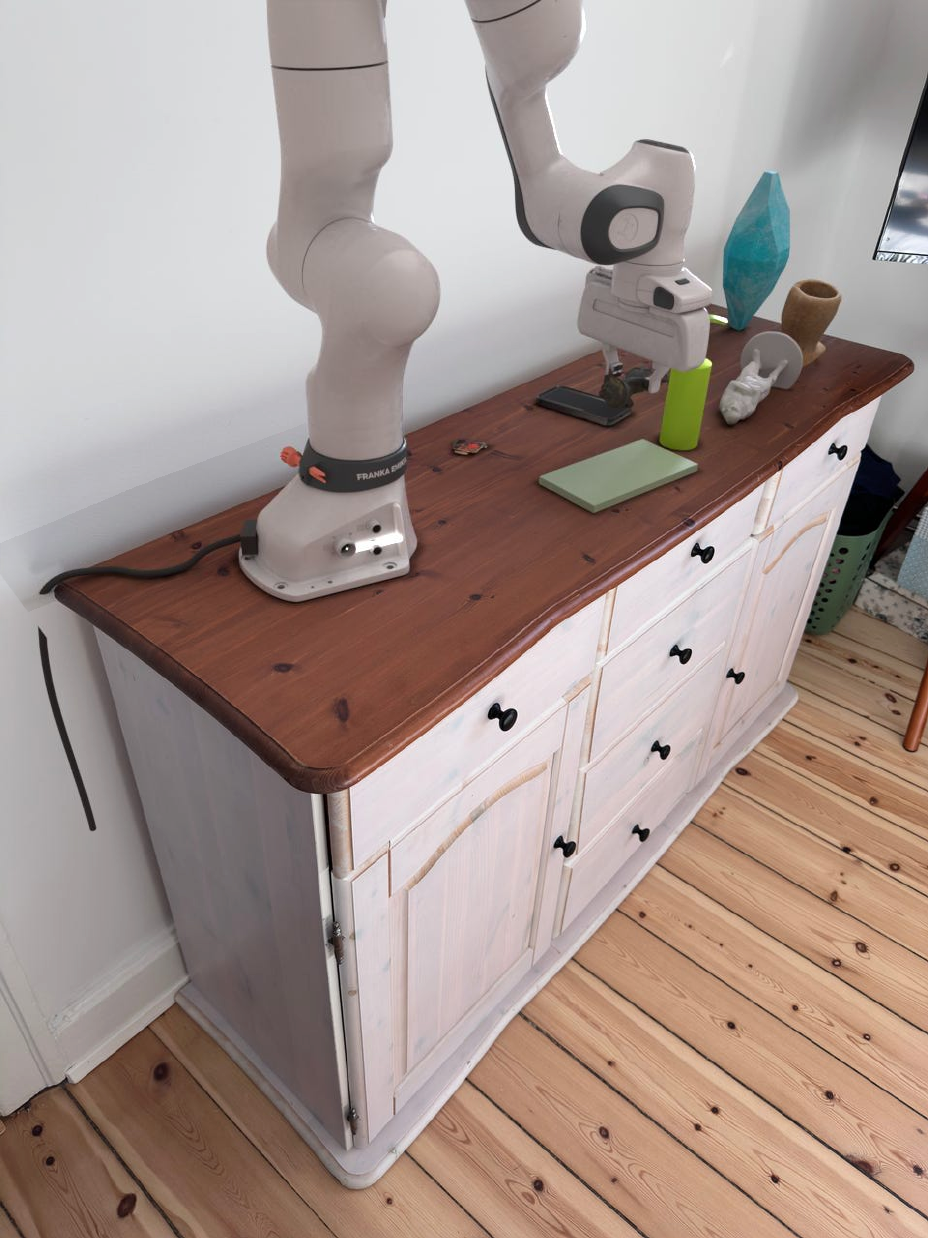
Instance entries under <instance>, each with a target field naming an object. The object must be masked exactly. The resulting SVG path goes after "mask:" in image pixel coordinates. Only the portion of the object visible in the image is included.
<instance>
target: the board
mask: <svg viewBox="0 0 928 1238" xmlns="http://www.w3.org/2000/svg"><path fill="white" fill-rule="evenodd" d="M698 467H699V464H698V463H697V462H694V461H692V460H691V459H688V458H686V457H683V456H681V455H679V454H678V453H675V452H672V451H670V450H668V449H667V448H664V447H662V446H659V445H657V444H656V443H652V442H650V441H649V440H647V439H644V438H641V439H639V440H636V441H633V442H630V443H627V444H625V445H621V446H619V447H616V448H614V449H611V450H608V451H605V452H602V453H600V454H597V455H594V456H591V457H588V458H585V459H584V460H580V461H578V462H575V463H573V464H569V465H567V466H564V467H561V468H559V469H556V470H553V471H550V472H547V473H544V474H542V475H539V476H538V478H539V479H538V484H539V485H540V486H543V487H544V488H546V489H548V490H550V491H552V492H554V493H555V494H557V495H559V496H561V497H563V498H564V499H566V500H568V501H570V502H572V503H574V504H576V505H578V507H581V508H583V509H585V510H586V511H589V512H590V513H592V514H595V513H598V512H600V511H603V510H605V509H607V508H611V507H612V506H615V505H617V504H620V503H622V502H625V501H627V500H630V499H632V498H635V497H637V496H639V495H642V494H645V493H646V492H649V491H652V490H654V489H656V488H659V487H662V486H664V485H667V484H669V483H671V482H674V481H677V480H678V479H679V480H680V479H681V478H684V477H686V476H688V475H691V474H694V473H696V472H698Z"/></svg>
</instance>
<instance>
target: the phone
mask: <svg viewBox="0 0 928 1238" xmlns="http://www.w3.org/2000/svg"><path fill="white" fill-rule="evenodd" d="M535 399H536V400H535V403H536V405H537V406H541V407H544V408H548V409H550V410H554V411H558V412H561V413H563V414H566V415H570V416H573V417H577V418H579V419H582V420H587V421H590V422H593V423H595V424H599V425H603V426H607V427H609V426H610V427H611V426H613V425H616V424H617V423H619V422H621V421H622V420H624V419H625V418H628V417H629V416H630V415H631V414H632V409H633V407H631V408H625V407H622V406H621V407H616V408H614V407H610V406H609V405H607V403H606V402H605V400H603V399H602V398H600V397H599V395H596V394H593V393H589V392H587V391H583V390H580V389H576V388H573V387H569V386H566V385H555V386H553V387H551V388H549V389H547V390H545V391H543V392H541V393H539V394H537V395H536V398H535Z"/></svg>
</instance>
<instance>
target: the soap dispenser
mask: <svg viewBox="0 0 928 1238" xmlns="http://www.w3.org/2000/svg"><path fill="white" fill-rule="evenodd" d="M708 315H709V319H710V324H711V323H713V324H717V325H721V326H726V325H728V319H727V318H726V317H723V316H720V315H716V314H709V313H708ZM712 366H713V363H712V361H711V360H710V359H708V358H707V357H705V360H704V362H703V363H702V364H701V365H700V366H699V367H698V368H696V369H693V370H690V371H687V372H680V371H677V370H675V369H672V368H670V370H669V371H670V372H669V383H667V390H666V396H665V403H664V409H663V416H662V421H661V427H660V428H661V429H660V434H659V443H660V444H661V445H662V446H663V447H665V448H666V449H670V450H674V451H690V450H694V449H696V447H697V446H698V442H699V438H700V437H699V436H700V431H701V425H702V420H703V415H704V409H705V405H706V399H707V395H708V394H707V393H708V388H709V382H710V378H711V372H712Z"/></svg>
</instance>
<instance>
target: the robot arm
mask: <svg viewBox="0 0 928 1238" xmlns="http://www.w3.org/2000/svg"><path fill="white" fill-rule="evenodd" d="M463 1H464V4H465V7H466V9H467V12H468V15H469V17H470V20H471V23H472V25H473V29H474V31H475V34H476V37H477V39H478V42H479V45H480V48H481V52H482V55H483V59H484V63H485V65H484V68H485V71H484V72H485V78H486V84H487V89H488V94H489V96H490V100H491V101H490V102H491V105H492V109H493V111H494V114H495V118H496V119H495V120H496V122H497V125H498V128H499V132H500V135H501V139H502V142H503V144H504V148H505V152H506V155H507V158H508V161H509V165H510V168H511V172H512V178H513V185H514V205H515V206H514V209H515V216H516V221H517V224H518V227H519V230H520V231H521V233H522V234H523V236H524V237H525V238H526V240H527V241H529V242H530V243H532V244H533V245H535V246H538V247H541V248H544V249H545V248H546V249H550V250H553V251H558V252H561V253H563V254H566V255H568V256H570V257H574V258H576V259H579V260H582V261H585V262H587V263H591V264H594V265H596V266H594V267H593V268H591V269H590V270H589V271H588V272H587V273H586V275H585V282H584V288H583V291H582V294H581V299H580V303H579V307H578V312H577V320H576V326H577V330H578V332H579V334H580V335H582V336H586V337H588V338H591V339H593V340H596V341H599V342H601V351H602V354H603V358H604V360H605V361H604V362H605V363H606V365H605V366H606V368H605V375H609V374H610V375H613V376H615V377H617V378H619V377H621V376H622V374H623V367H624V363H623V362H620V360H619V355H618V350H619V349H620V350H622V351H625V352H627V353H630V354H632V355H635V356H637V357H641V358H643V359H647V360H648V361H651V362H652V366H651V369H652V370H653V371H654V373H653V374H652V376H650V377H647V378H644V386H643V390H645V391H644V392H647V393H650V394H655V393H658V392H659V391H660V389H661V386H660V383H661V379H662V378H663V377H664V376H665V375H667V373H668V372H669V371H670V370H671V368H672V369H675V370H677V371H680V372H687V371H690V370H693V369H696V368H698V367H699V366H700V365H701V364H702V363H703V362H704V360H705V358H707V357H706V356H707V352H708V346H709V338H710V327H711V322H710V319H709V315H708V314H709V311H708V310H707V309H706V308H705V307H708V306H710V305H711V303H712V301H713V296H714V292H713V290H712V288H711V287H709V285H707V284H706V283H705V282H703V281H701V279H699V278H698V277H697V276H696V275H694V274H693V273H692V272H691V271H690V270H689V269H688V268H687V267H685V266H684V263H685V256H686V255H685V237H686V234H687V231H688V229H689V227H690V224H691V219H692V212H693V205H694V200H695V199H694V197H695V190H696V189H695V188H696V165H695V159H694V154H693V153H692V152H691V151H690V150H689V149H687V148H686V147H684V146H681V145H677V144H673V143H667V142H663V141H658V140H654V139H650V138H642V139H638V140H635V141H634V142H633V144H632V146H631V147H630V150H629V151H628V152H627V153H626V154H625V155H624V156H623V157H622V158H621V159H620V160H618V161H617V162H616V163H615V164H613V165H612V166H610V167H608V168H606V169H604V170H602V171H600V172H599V173H597V172H594V171H589V170H587V169H582V168H581V167H579V166H577V165H576V164H574V163H573V162H571V161H570V160H569V159H568V158H567V157H566V156H565V155H564V153H563V152H562V150H561V147H560V144H559V140H558V135H557V132H556V128H555V123H554V120H553V116H552V111H551V107H550V103H549V99H548V92H547V90H548V89H547V88H548V84H549V83H550V82H552V81H553V80H554V79H555V78H556V77H558V76H559V75H560V74H561V73H562V72H564V71H565V70H566V69H567V68H568V67H569V66H570V64H572V62H573V60H574V59H575V57H576V56H577V53H578V51H579V49H580V48H581V45H582V42H583V40H584V37H585V33H586V16H585V15H586V14H585V5H584V0H463ZM387 2H388V0H266V26H267V40H268V50H269V60H270V69H271V77H272V86H273V93H274V95H273V96H274V101H275V102H274V103H275V111H276V118H277V119H276V121H277V128H278V137H279V149H280V182H279V196H278V206H277V216H276V220H275V221H274V223H273V224H272V227H271V228H270V230H269V232H268V235H267V240H266V245H265V246H266V247H265V252H266V253H265V254H266V259H267V265H268V267H269V268H268V269H269V270H270V272H271V274H272V275H273V277H274V278H275V280H276V281H277V282H278V284H279V286H280V287H281V288H282V289H283V291H284V292H285V293H286V294H287V295H288V296H289V297H290V299H292V300H293V301H294V302H295V303H296V304H299V305H300V306H302V307H304V308H305V309H307V310H309V311H310V312H312V313H313V314H316V315H317V317H318V319H319V322H320V326H321V341H320V347H319V352H318V358H317V362H316V363H315V364H314V365H313V366H312V367H311V368H310V370H309V371H308V373H307V375H306V377H305V383H304V385H305V386H304V387H305V397H306V398H305V401H306V411H307V425H308V438H307V440H306V443H305V446H304V449H303V452H302V453H301V452H300V451H298V450H296V449H295V448H294V447H293V446H290V445H288V446H284V447H283V448H282V450H281V451H280V456H279V457H280V460H281V461H282V462H283V463H285V464H287V465H288V466H289V467H290V468H296V467H298V470H297V474H296V475H295V476H294V477H293V478H292V479H291V480H290V481H289V482H288V483H287V484H286V485H285V487H283V488H282V489H281V490H280V491H279V492H278V494H276V496H274V497H273V499H271V500H270V501H269V502H268V503H267V504H266V505H265V506H264V507H263V508H262V509H261V510H260V512H259V513H258V517H257V519H255V518H254V519H253V518H251V519H244V520H243V524H242V527H241V531H240V533H238V534H235V535H232V536H229V537H225V538H222V539H219V540H216V541H214V542H212V543H210V544H208V545H205V546H204V547H202V548H201V549H200V550H198V551H197V552H196V553H195V554H194V555H192V557H191V558H190V559H188V560H186V561H184V562H182V563H179V564H177V565H173V566H169V567H165V568H164V567H163V568H157V569H156V568H155V569H134V568H128V567H124V566H117V565H106V566H105V565H104V566H92V567H82V568H75V569H70V570H66V571H63V572H61V573H59V574H57V575H55V576H53V577H52V578H51V579H49V580H48V581H47V582H46V583H45V584H44V585H43V586H42V588H41V589H40V590H39V593H38V594H39V595H47V594H49V593H50V592H51V591H52V590H53V589H54V588H56V586H58V585H59V584H60V583H62V582H64V581H67V580H69V579H73V578H77V577H84V576H94V575H95V576H96V575H105V574H108V575H109V574H115V575H116V574H117V575H121V576H126V577H131V578H133V577H134V578H139V579H140V578H141V579H143V578H158V577H159V578H160V577H166V576H172V575H176V574H179V573H182V572H184V571H187V570H189V569H191V568H193V567H194V566H195V565H197V564H198V563H199V562H200V561H202V559H203V558H205V556H207V555H208V554H210V553H212V552H214V551H216V550H219V549H221V548H224V547H227V546H230V545H234V544H237V543H239V542H240V548H239V551H238V565H239V567H240V569H241V571H242V572H243V573H244V575H245V576H246V577H247V578H248V579H249V580H250V581H251V582H252V583H253V584H254V585H255V586H257V587H258V588H260V589H261V590H262V591H263V592H266V593H267V594H269V595H271V596H273V597H275V598H278V599H281V600H284V601H288V602H293V603H298V602H304V601H308V600H312V599H316V598H321V597H323V596H327V595H330V594H335V593H339V592H343V591H347V590H352V589H354V588H359V587H364V586H367V585H370V584H375V583H379V582H383V581H387V580H391V579H394V578H398V577H402V576H405V575H407V574H408V573H409V572H410V569H411V567H410V559H411V557H412V556H413V554H414V553H415V551H416V550H417V546H418V538H417V535H416V533H415V529H414V527H413V523H412V519H411V515H410V510H409V504H408V503H409V502H408V497H407V491H406V479H405V478H406V477H405V475H406V471H408V470H407V469H408V449H407V439H406V437H405V436H404V381H405V380H404V379H405V374H406V368H407V363H408V360H409V357H410V353H411V351H412V347H413V345H414V343H415V341H416V340H419V338H420V337H421V336H423V335H424V334H425V333H426V332H427V330H428V329H429V328H430V327H431V325H432V324H433V322H434V320H435V318H436V316H437V313H438V310H439V307H440V303H441V293H442V292H441V282H440V278H439V274H438V272H437V269H436V268H435V266H434V264H433V263H432V262H431V261H430V259H429V258H428V257H427V256H426V255H424V253H423V252H422V251H421V250H420V249H418V247H416V246H415V245H414V244H413V243H412V242H411V241H410V240H408V238H406V237H404V236H403V235H401V234H399V233H398V232H397V233H396V232H394V231H392V230H389V229H387V228H384V227H382V226H380V225H377V223H376V220H375V215H374V206H375V197H376V191H377V185H378V181H379V177H380V174H381V171H382V169H383V167H385V166H386V164H387V163H388V162H389V160H390V158H391V156H392V153H393V150H394V149H393V148H394V134H393V115H392V99H391V85H390V84H391V83H390V82H391V81H390V63H389V52H388V41H387V40H388V39H387V30H386V23H385V21H386V20H385V19H386V16H387V15H386V14H387V13H386V12H387V4H388V3H387ZM604 266H612V269H611V268H610V269H609V268H606V267H604ZM37 634H38V635H37V636H38V647H39V655H40V662H41V668H42V673H43V674H42V675H43V678H44V679H43V680H44V684H45V688H46V693H47V696H48V701H49V704H50V708H51V711H52V715H53V718H54V721H55V724H56V728H57V732H58V734H59V738H60V740H61V743H62V746H63V749H64V752H65V756H66V758H67V761H68V764H69V767H70V770H71V773H72V776H73V779H74V782H75V786H76V788H77V792H78V795H79V798H80V801H81V804H82V808H83V810H84V815H85V819H86V822H87V825H88V829H89V831H90V832H95V831H96V830H97V825H96V821H95V817H94V814H93V810H92V807H91V803H90V800H89V796H88V793H87V789H86V786H85V783H84V781H83V777H82V774H81V770H80V768H79V765H78V762H77V759H76V756H75V753H74V750H73V747H72V744H71V741H70V738H69V735H68V732H67V728H66V724H65V721H64V718H63V714H62V712H61V707H60V704H59V702H58V697H57V693H56V688H55V684H54V679H53V673H52V668H51V663H50V661H51V660H50V654H49V647H48V637H47V636H46V635H45V633H44V632H43V630H42V629H41V627H39V625H37Z"/></svg>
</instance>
